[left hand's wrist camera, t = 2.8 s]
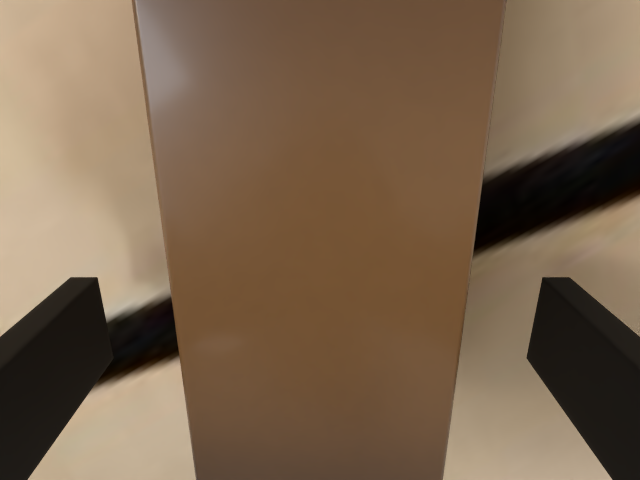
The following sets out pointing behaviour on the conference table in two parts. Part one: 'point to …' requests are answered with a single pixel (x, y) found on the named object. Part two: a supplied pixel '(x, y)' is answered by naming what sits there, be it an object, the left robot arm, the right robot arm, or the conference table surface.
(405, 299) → the bar
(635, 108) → the conference table surface
